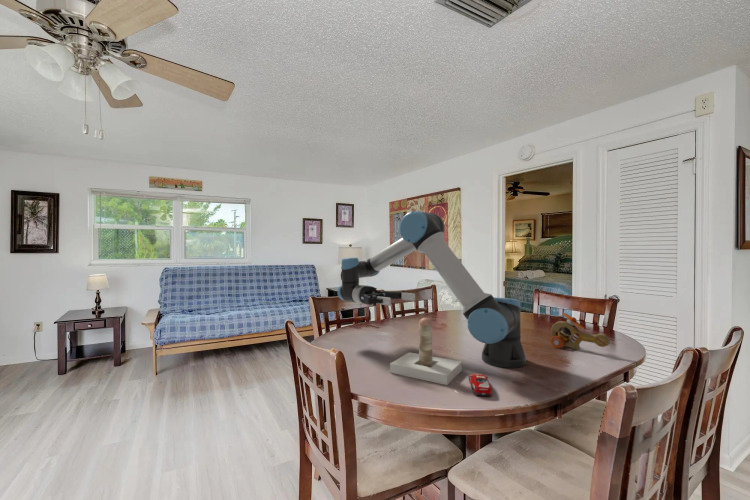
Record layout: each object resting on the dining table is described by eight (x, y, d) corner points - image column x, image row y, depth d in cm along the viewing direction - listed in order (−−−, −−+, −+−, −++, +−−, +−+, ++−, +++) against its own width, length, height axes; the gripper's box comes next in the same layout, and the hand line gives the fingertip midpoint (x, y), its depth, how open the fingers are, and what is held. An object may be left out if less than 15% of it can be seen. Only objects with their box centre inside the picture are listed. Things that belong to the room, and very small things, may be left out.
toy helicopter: (556, 342, 145) (556, 310, 145) (613, 354, 129) (613, 318, 128) (547, 346, 140) (547, 313, 140) (605, 359, 124) (605, 322, 123)
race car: (467, 379, 108) (467, 367, 108) (485, 380, 107) (485, 367, 107) (473, 398, 95) (472, 383, 95) (493, 399, 94) (493, 384, 94)
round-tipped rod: (434, 370, 115) (434, 317, 115) (429, 374, 111) (428, 319, 111) (422, 368, 117) (422, 315, 117) (417, 372, 113) (416, 318, 113)
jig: (461, 370, 115) (461, 361, 115) (447, 385, 103) (447, 375, 103) (408, 360, 125) (408, 352, 125) (390, 372, 114) (390, 363, 114)
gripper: (386, 300, 151) (424, 305, 135) (341, 308, 134) (379, 314, 118) (386, 283, 151) (423, 286, 135) (341, 289, 133) (378, 293, 118)
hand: (402, 299), depth 126 cm, fingers open, 13 cm apart
